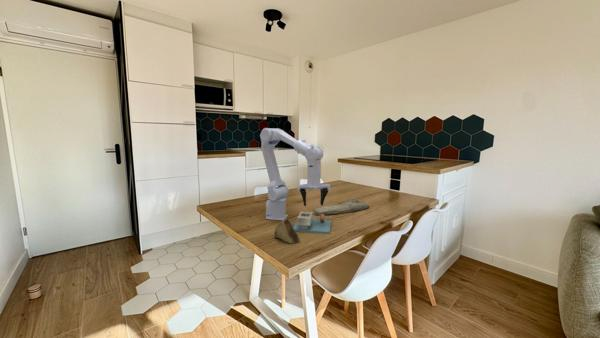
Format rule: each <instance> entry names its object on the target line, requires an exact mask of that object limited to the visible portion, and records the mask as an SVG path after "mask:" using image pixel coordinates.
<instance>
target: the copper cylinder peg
mask: <svg viewBox="0 0 600 338" xmlns="http://www.w3.org/2000/svg"><path fill="white" fill-rule="evenodd" d="M319 220H320V222H321V223H323V222H324V220H325V215H324V214H320V216H319Z"/></svg>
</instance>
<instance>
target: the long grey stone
mask: <svg viewBox="0 0 600 338" xmlns="http://www.w3.org/2000/svg"><path fill="white" fill-rule="evenodd" d="M369 206H370V204H369V202H367V201H364V200H363V201H362V200H359V199H355V198H354V199H351V198H346V201H342V202H341V203H339V204H332V205H326V206H321V207H316V208H314V210H313V215H315V216H317V217H320V214H324V216H329V215H330V216H332V215H337V214H338V215H340V214H347V213H350V212H357V211H363V210H364V209H365V210H366V209H367V208H369Z"/></svg>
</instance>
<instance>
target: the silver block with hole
mask: <svg viewBox="0 0 600 338" xmlns="http://www.w3.org/2000/svg"><path fill="white" fill-rule="evenodd" d="M313 215H314V211H299V214H298V216H297V218H296V221H297V225H309V226H310V225H311V222H312V219H314V217H313Z"/></svg>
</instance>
